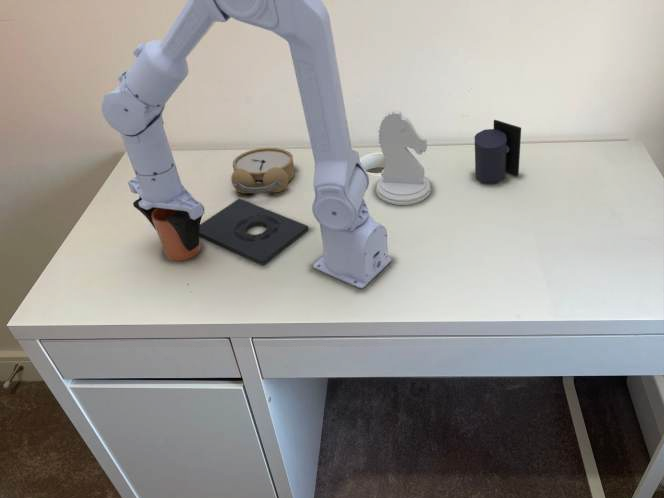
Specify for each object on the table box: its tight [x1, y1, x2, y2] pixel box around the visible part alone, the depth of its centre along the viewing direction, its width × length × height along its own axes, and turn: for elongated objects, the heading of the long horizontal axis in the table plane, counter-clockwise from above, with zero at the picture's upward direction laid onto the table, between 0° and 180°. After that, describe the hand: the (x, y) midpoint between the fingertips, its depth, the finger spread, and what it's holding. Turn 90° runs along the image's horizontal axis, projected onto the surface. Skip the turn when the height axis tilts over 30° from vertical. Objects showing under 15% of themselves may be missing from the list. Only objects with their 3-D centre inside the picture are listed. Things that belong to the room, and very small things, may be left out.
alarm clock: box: [230, 147, 296, 195], centre depth 107 cm, size 11×5×15 cm
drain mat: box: [199, 198, 309, 266], centre depth 96 cm, size 16×11×1 cm
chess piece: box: [375, 109, 432, 206], centre depth 99 cm, size 10×10×15 cm
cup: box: [151, 208, 202, 262], centre depth 90 cm, size 6×6×8 cm
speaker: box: [474, 119, 522, 185], centre depth 103 cm, size 8×6×10 cm
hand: (180, 240), depth 92 cm, fingers closed on cup, 5 cm apart
